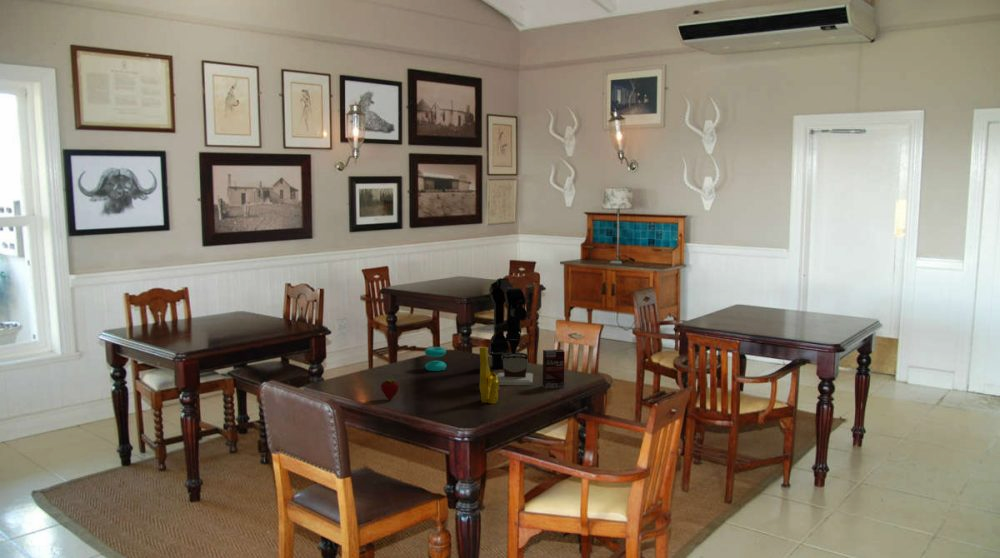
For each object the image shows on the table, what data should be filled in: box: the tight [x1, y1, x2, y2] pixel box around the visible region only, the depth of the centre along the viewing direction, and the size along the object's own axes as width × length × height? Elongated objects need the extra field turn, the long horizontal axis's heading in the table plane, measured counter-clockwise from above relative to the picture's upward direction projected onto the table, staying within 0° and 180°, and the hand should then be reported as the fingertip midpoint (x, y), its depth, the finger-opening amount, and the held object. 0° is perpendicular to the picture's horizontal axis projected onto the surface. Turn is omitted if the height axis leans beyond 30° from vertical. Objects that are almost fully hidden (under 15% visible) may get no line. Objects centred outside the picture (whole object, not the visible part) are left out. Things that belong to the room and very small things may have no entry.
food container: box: [501, 351, 530, 377], centre depth 350 cm, size 12×6×10 cm, turn 87°
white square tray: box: [496, 372, 534, 386], centre depth 349 cm, size 16×16×2 cm
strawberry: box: [380, 378, 400, 401], centre depth 317 cm, size 6×8×10 cm
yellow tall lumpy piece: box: [479, 346, 501, 405], centre depth 313 cm, size 18×8×22 cm, turn 166°
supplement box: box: [542, 349, 566, 389], centre depth 337 cm, size 9×5×16 cm, turn 102°
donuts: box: [424, 346, 447, 372], centre depth 371 cm, size 10×10×10 cm
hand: (513, 352), depth 347 cm, fingers open, 9 cm apart
